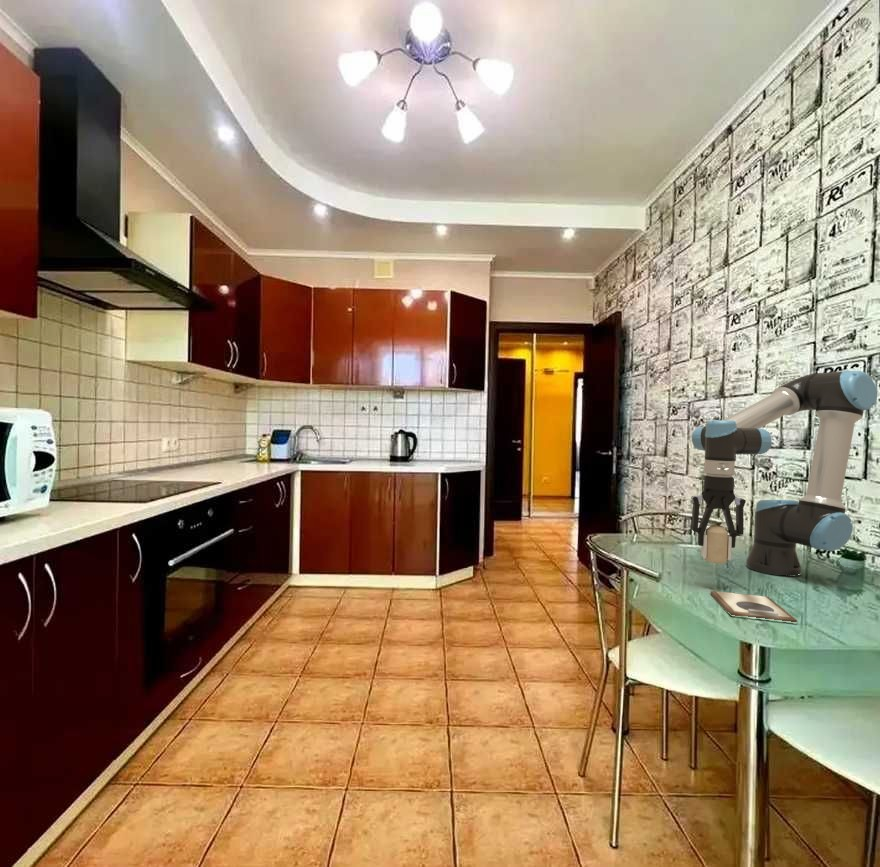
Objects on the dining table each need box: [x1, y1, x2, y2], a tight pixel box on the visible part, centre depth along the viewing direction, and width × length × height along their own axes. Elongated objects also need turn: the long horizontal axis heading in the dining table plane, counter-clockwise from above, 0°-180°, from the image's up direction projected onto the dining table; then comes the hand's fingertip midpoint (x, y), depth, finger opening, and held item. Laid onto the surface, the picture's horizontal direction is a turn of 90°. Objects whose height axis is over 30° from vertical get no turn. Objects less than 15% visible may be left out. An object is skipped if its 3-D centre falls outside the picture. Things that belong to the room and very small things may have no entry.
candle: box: [704, 524, 729, 564], centre depth 151 cm, size 6×6×10 cm
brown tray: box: [709, 590, 798, 623], centre depth 135 cm, size 14×18×2 cm
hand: (715, 558), depth 151 cm, fingers closed on candle, 5 cm apart
